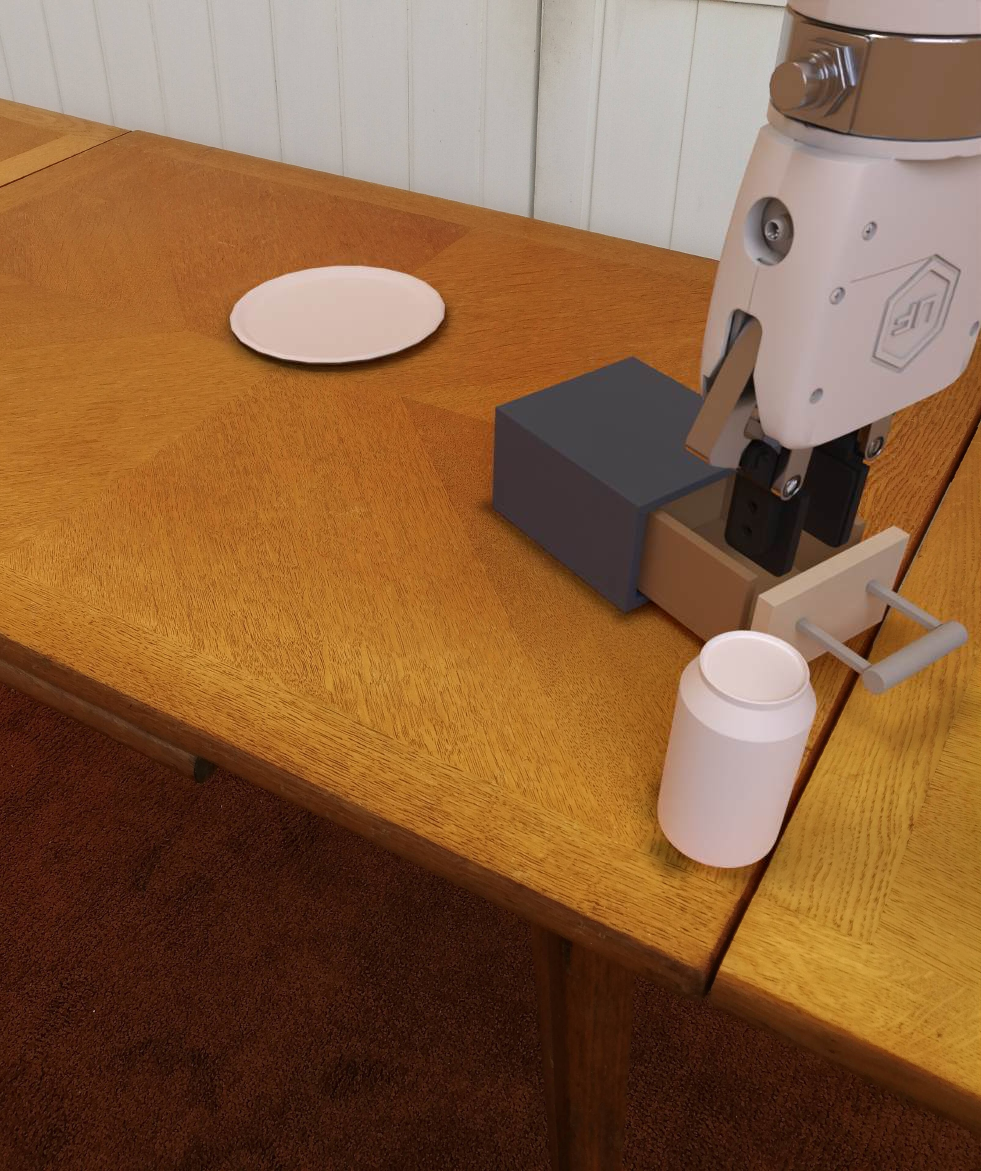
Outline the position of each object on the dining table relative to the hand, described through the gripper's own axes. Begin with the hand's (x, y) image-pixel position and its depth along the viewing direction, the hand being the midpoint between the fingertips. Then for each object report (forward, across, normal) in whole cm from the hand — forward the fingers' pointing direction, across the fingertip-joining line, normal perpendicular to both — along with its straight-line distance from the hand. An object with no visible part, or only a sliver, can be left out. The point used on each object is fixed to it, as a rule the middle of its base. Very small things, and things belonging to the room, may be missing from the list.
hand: (785, 540), depth 45 cm
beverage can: (+19, 0, 0) cm, 19 cm away
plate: (+19, +14, +64) cm, 68 cm away
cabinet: (+19, +14, +23) cm, 33 cm away
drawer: (+18, +14, +9) cm, 25 cm away
